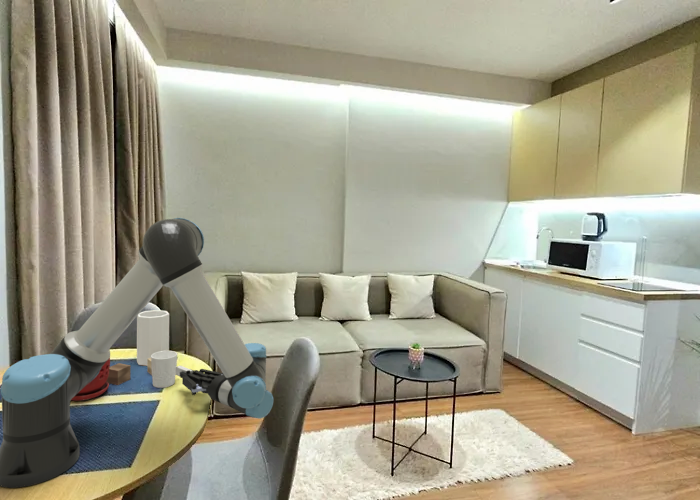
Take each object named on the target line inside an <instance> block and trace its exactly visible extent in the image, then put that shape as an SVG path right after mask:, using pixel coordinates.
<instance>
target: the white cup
mask: <svg viewBox="0 0 700 500" xmlns="http://www.w3.org/2000/svg"><path fill="white" fill-rule="evenodd" d="M177 360H178V353H177V351H174V350H169V351H160V352H156V353H154V354H152V355H151V367H152V375H151V377H152V386H153V387H154V388H159V389H161V388H163V389H164V388H168V387H172V386H173V385H174V384H175V383H176V376H177V375H176V367H177V364H178V361H177Z"/></svg>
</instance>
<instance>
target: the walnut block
mask: <svg viewBox="0 0 700 500" xmlns="http://www.w3.org/2000/svg"><path fill="white" fill-rule="evenodd" d="M131 368H132V367H131V365H130V364H125V363H119V362H118V363H116V364H113V365H110V368H109V375H108V378H107V381H106V382H108V383H109V385H111V384H112V385H115V386H119V385H121V384H123V383H126V382H128V381H130V380H131V370H132V369H131Z"/></svg>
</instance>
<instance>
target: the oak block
mask: <svg viewBox="0 0 700 500" xmlns="http://www.w3.org/2000/svg"><path fill="white" fill-rule="evenodd" d="M146 369H147V373H148V374H149V375H150V376H152V367H151V358H148V359H147V366H146Z"/></svg>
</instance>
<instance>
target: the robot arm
mask: <svg viewBox="0 0 700 500" xmlns="http://www.w3.org/2000/svg"><path fill="white" fill-rule="evenodd" d="M202 231H203V230H201V228H200V227H199V226H198V225H197V224H196V223H195V222H193V221H191V220H189V219H186V218H184V217H176V218H168V219H165V218H164V219H161V220H158V221H156V222H154V223H153V224H152V225H150V226H149V227H148V228H147V230H146V231H145V233H144V236H143V239H142V246H141V247H140V248H139V249H138V251H137V253H138V260H137V262H136V263H135V264H134V265H133V266H132V267H131V268H130V270H129V271H128V272H127V273H126V274H125V275H124V276H123V278H122V279H121V280H120V282H119V283H117V285H116V286H115V287H114V289H112V291H111V292H110V293H109V294H108V295H107V296H106V297H105V299H104V300H103V301H102V302H101V304H100V305H98V307H97V308H96V309H95V310H94V312H93V313H92V314H91V315H90V316H89V318H88V319H87V320H86V321H85V322H84V323H83V324H82V326H80V328H79V329H78V330H75V331H70V332H68V333H66V334H65V336H64V337H63V338H61V340H60V341H59V342H58V343H57V345H56V346H55V347H54V348H53V349H52V351H51V352H49V353H47V354H39V355H34V356H33V355H32V356H30V357H29V358H24V359H22V360H18V361H17V362H16V363H13V364H12V365H11V366H9V367H8V368H7V369H6V370H5V371H4V373H3V375H2V379H1V386H0V396H1V415H2V419H1V420H2V442H1V445H0V487H2V488H11V489H13V488H22V487H24V488H25V487H28V486H29V487H30V486H33V485H39V484H40V483H44V482H46V481H50V480H51V479H54V478H56V477H58V476H60V475H61V474H64V473H65V472H66V471H68V470H70V469H71V468H72V467H73V466H74V465H75V464H76V463H77V461H78V460H79V458H80V443H79V440H78V438H77V437H76V435H75V432H74V430H73V427H72V425H71V401H72V400H71V399H72V398H73V397H74V396H75V395H76V394H77V393H78V392H79V391H81V390H82V389H83V388H84V387H85V386H86V385H87V384H88V383H89V382H91V381H92V380H93V379H94V378H95V377H96V376H97V375H98V373H99V371H100V370H101V368H102V366H103V365H104V364H105V363H106V362H107V360H108V359H109V358H110V359H111V351H110V348H111V347H112V346H113V345H114V344H115V343H116V341H117V340H118V339H119V338H120V337H121V335H122V334H124V332H125V331H126V330H127V329H128V328H129V326H130V325H131V323H133V321H134V320H135V319H137V316H138V314H139V313H141V312H143V311H144V308H146V306H148V304H149V302H150V301H151V300H153V298H154V297H155V295H156V294H157V293H158V292H159V291H160V290H161V289H162V288H163V286H164V287H166V288H169V289H171V291H172V293H173V295H174V296H175V298H176V299H177V301H178V303H179V305H180V306H181V307H182V309H183V311H184V313H185V315H187V317H188V319H189V320H190V322H191V323H192V325H193V327H194V328H195V331H196V332H197V333H198V334H199V336H200V338H201V340H202V341H203V343H204V345H205V346H206V347H207V350H208V351H209V353H210V355H211V356H212V358H213V359H214V361H215V362H216V364H217V366H218V367H219V369H220V371H221V372H218V371H215V370H209V369H205V368H201V369H199V370H196V369H195V370H194V369H191V368H187V367H185V366H183V365H178V366H176V375H175V376H178V377H180V378H181V379H182V380H181V381H182V385H183V386H184V387H185V388H186V389H188V390H189V391H190V393H191V395H192V396H196V395H197V393H199V392H201V393H202V394H207V395H208V396H209V397H210V399H211V400H212V401H215V402H217V403H220V404H222V405H225V406H227V407H230V408H231V409H234V410H236V411H237V412H240V413H242V414H244V415H246V416H247V417H251V418H255V419H263V418H265V417H267V416H268V414H270V412H271V410H272V409H273V406H274V396H273V393H272V392H271V391H269V390H268V389H267V384H266V380H267V379H266V374H267V372H266V371H267V347H266V346H265V345H264V344H261V343H258V342H257V343H256V342H251V343H244V342H243V340H242V338H241V336H240V334H239V333H238V331H237V329H236V328H235V326H234V324H233V323H232V321H231V319H230V317H229V316H228V314H227V312H226V311H225V309H224V306H222V304H221V303H220V300H219V299H218V297H217V295H216V294H215V292H214V289H212V287H211V285H210V284H209V282H208V280H207V279H206V277H205V275H204V273H203V272H202V269H203V267H204V264H203V263H202V261H201V259H200V258H199V256H200V255H201V253H202V251H203V249H204V245H205V236H204V234H203V232H202Z"/></svg>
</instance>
